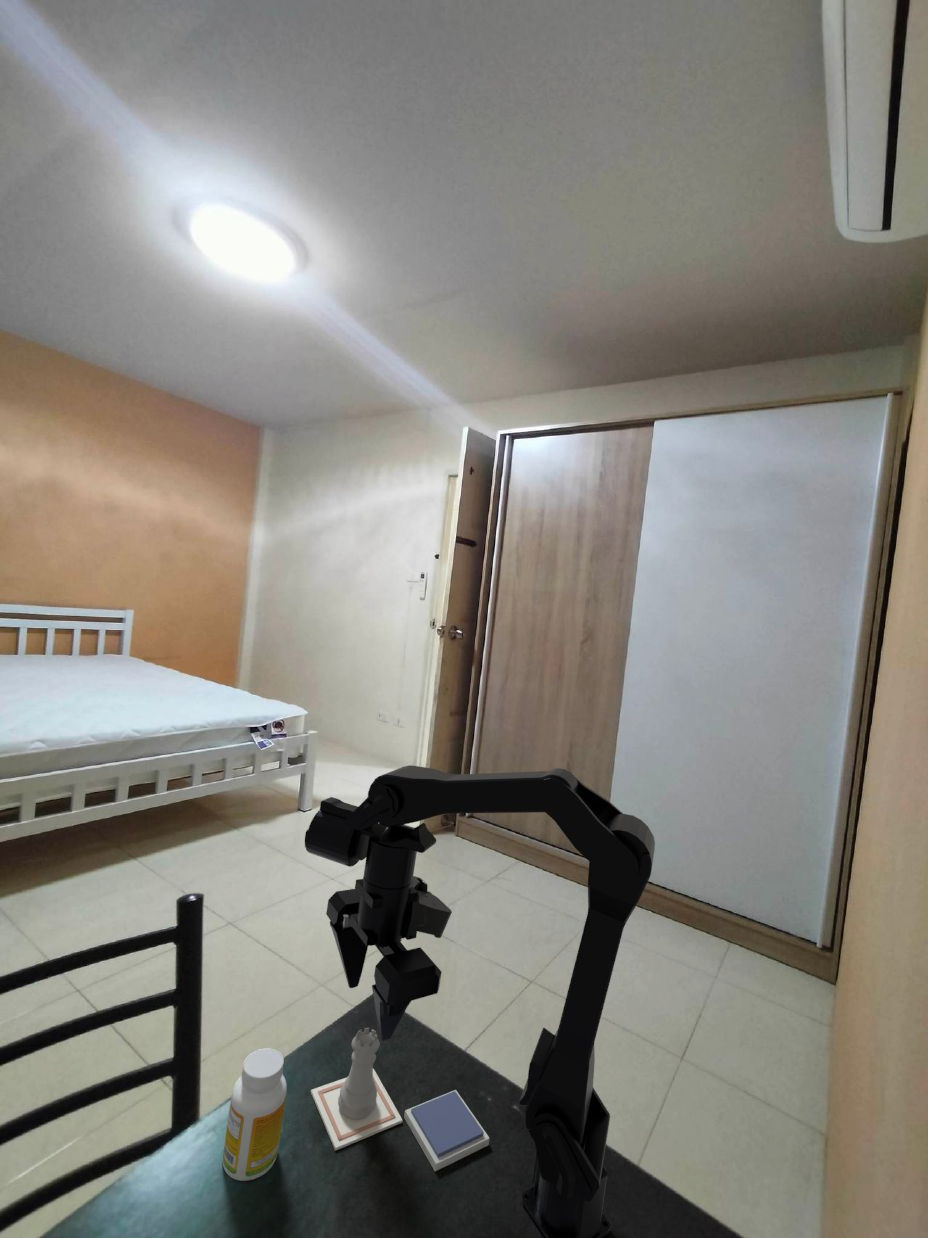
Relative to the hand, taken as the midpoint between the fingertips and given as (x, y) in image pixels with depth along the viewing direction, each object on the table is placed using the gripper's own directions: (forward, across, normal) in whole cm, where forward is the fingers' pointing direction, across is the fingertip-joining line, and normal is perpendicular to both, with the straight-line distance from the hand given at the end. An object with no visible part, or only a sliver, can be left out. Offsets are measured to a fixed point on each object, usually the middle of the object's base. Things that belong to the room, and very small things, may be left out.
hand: (368, 1011), depth 65 cm
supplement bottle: (+11, -1, +12) cm, 16 cm away
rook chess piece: (+11, 0, 0) cm, 11 cm away
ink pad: (+11, -7, -8) cm, 15 cm away
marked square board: (+11, 0, 0) cm, 11 cm away
